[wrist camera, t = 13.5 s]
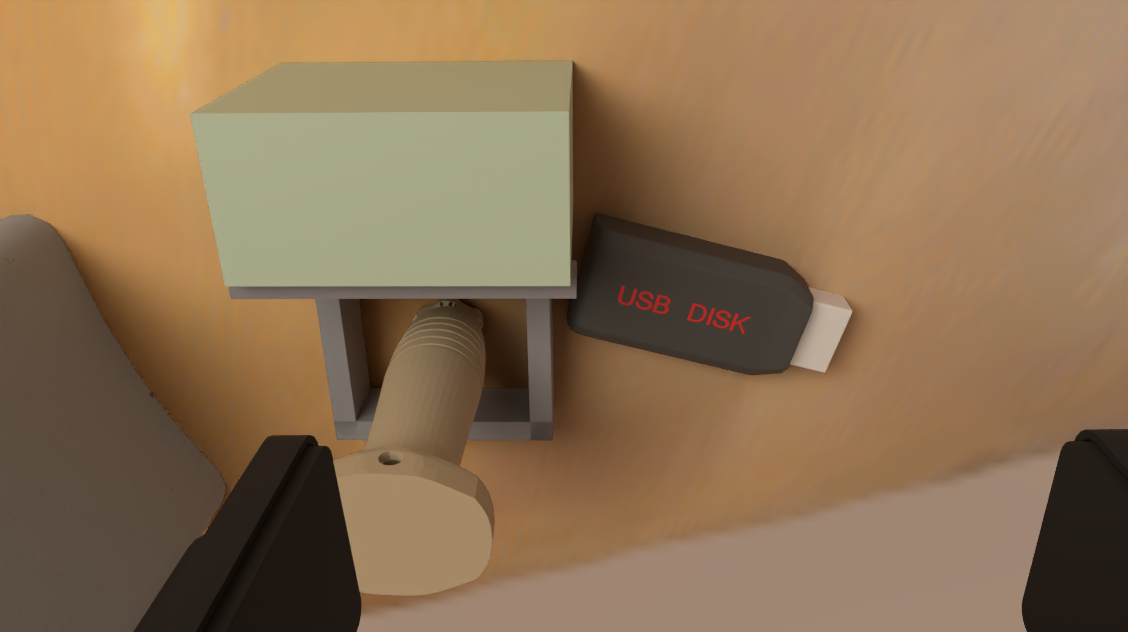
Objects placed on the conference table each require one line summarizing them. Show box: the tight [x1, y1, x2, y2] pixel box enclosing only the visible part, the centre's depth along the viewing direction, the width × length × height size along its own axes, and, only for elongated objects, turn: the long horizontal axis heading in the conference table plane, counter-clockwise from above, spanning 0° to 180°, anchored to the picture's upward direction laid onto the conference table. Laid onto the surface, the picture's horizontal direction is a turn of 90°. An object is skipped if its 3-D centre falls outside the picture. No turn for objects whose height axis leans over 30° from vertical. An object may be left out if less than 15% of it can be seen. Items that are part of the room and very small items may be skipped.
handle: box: [333, 299, 494, 596], centre depth 34 cm, size 5×6×15 cm
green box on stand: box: [190, 61, 577, 440], centre depth 35 cm, size 12×16×9 cm
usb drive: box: [567, 214, 852, 375], centre depth 39 cm, size 5×12×3 cm, turn 76°
